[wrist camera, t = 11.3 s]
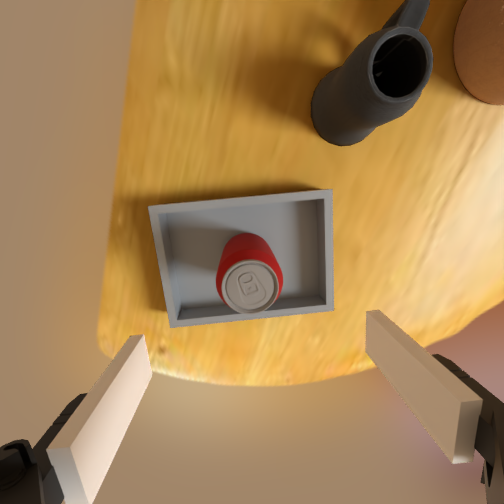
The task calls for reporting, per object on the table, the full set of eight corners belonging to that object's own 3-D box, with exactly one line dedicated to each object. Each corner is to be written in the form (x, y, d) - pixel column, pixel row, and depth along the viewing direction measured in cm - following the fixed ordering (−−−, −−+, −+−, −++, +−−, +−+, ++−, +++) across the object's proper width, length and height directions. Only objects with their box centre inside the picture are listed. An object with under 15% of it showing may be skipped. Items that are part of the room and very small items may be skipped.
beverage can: (233, 285, 36) (230, 331, 25) (214, 242, 35) (201, 269, 23) (278, 268, 36) (296, 306, 24) (260, 223, 34) (271, 241, 23)
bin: (158, 204, 34) (147, 206, 30) (321, 189, 34) (332, 189, 30) (177, 313, 38) (170, 327, 34) (324, 298, 38) (333, 310, 34)
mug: (359, 158, 34) (417, 142, 23) (298, 127, 32) (328, 96, 22) (406, 63, 31) (495, -5, 20) (341, 26, 30) (400, -67, 19)
